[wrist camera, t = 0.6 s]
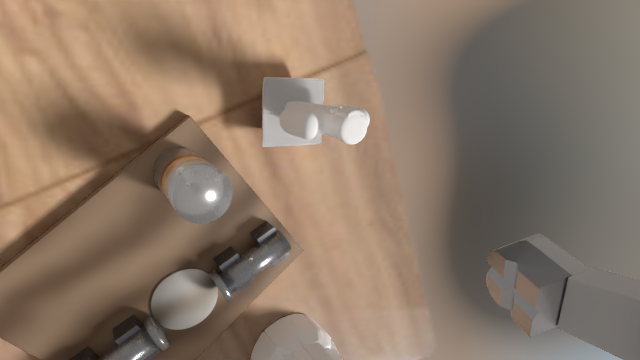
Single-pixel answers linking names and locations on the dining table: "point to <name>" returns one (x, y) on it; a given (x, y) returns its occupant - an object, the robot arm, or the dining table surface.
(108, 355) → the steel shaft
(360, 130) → the white peg on base
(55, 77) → the dining table surface
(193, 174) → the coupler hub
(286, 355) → the decorative vase
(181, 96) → the dining table surface
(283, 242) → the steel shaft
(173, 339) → the walnut base board
